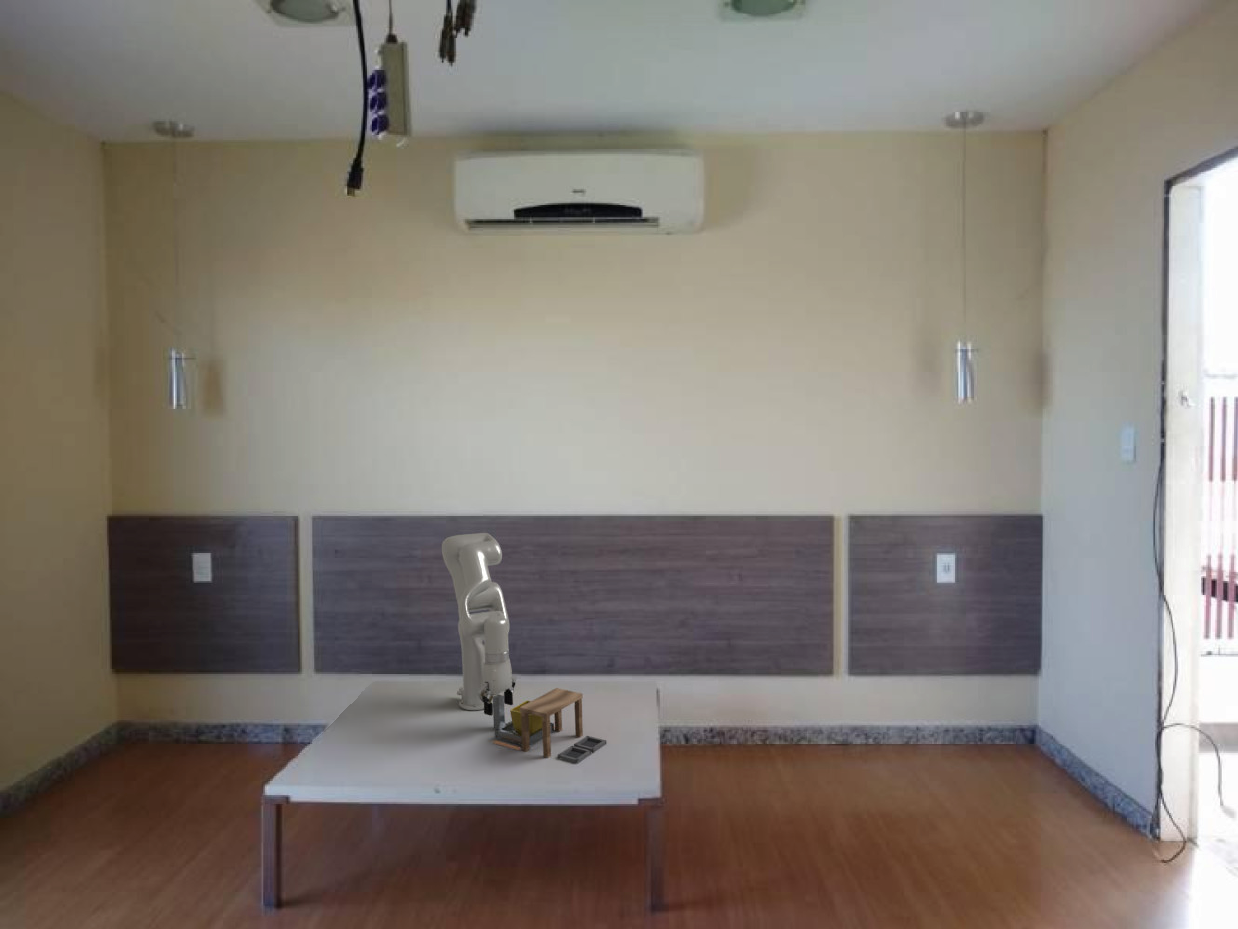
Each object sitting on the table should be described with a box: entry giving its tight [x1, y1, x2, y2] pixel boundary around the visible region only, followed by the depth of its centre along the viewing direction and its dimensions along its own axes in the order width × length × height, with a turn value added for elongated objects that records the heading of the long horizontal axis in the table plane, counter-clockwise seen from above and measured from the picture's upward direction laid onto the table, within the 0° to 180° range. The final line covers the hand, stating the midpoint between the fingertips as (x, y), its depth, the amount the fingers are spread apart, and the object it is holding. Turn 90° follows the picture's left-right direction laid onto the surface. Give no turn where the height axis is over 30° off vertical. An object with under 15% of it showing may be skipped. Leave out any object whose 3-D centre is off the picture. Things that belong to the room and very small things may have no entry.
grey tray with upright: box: [492, 693, 555, 746], centre depth 236 cm, size 18×13×10 cm
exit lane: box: [492, 726, 555, 751], centre depth 235 cm, size 10×18×1 cm, turn 147°
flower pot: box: [509, 700, 542, 735], centre depth 235 cm, size 9×9×9 cm
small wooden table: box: [520, 687, 584, 758], centre depth 229 cm, size 10×18×13 cm, turn 147°
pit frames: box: [557, 735, 607, 765], centre depth 224 cm, size 7×15×1 cm, turn 147°
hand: (498, 709), depth 241 cm, fingers open, 9 cm apart
